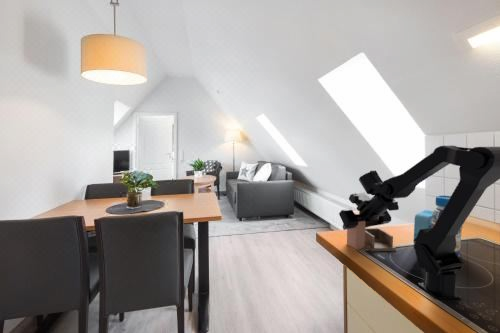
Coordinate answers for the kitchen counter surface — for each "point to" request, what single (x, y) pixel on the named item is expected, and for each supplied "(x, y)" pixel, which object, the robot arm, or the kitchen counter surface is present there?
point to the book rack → (378, 240)
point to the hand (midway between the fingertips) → (353, 227)
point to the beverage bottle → (441, 203)
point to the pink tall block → (356, 234)
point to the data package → (422, 221)
